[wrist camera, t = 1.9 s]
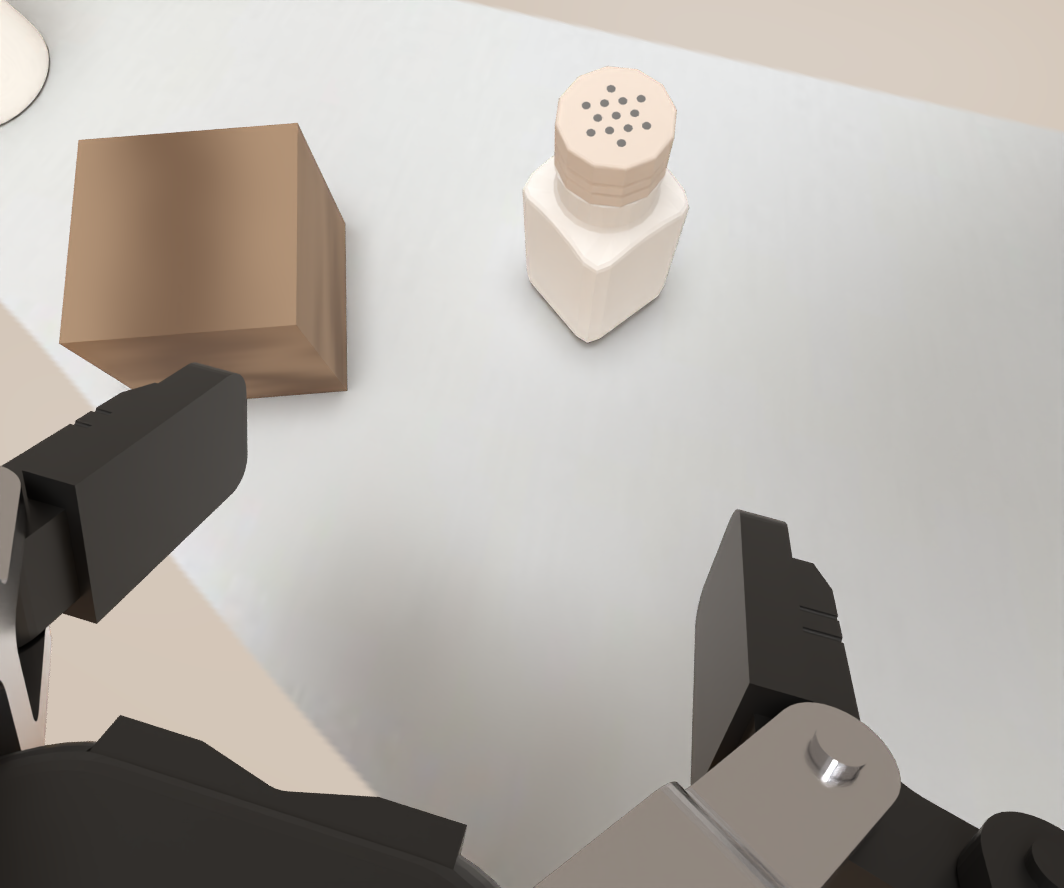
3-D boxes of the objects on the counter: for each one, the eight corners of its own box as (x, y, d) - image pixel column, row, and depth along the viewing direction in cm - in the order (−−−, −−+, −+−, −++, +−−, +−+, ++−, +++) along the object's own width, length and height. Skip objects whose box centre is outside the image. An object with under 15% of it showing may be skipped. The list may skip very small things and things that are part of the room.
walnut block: (345, 225, 30) (297, 123, 24) (348, 391, 28) (296, 324, 22) (169, 238, 30) (78, 140, 24) (160, 406, 28) (58, 343, 22)
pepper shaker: (601, 220, 30) (626, 26, 20) (668, 293, 29) (725, 126, 19) (520, 277, 29) (508, 104, 20) (585, 354, 28) (605, 210, 19)
